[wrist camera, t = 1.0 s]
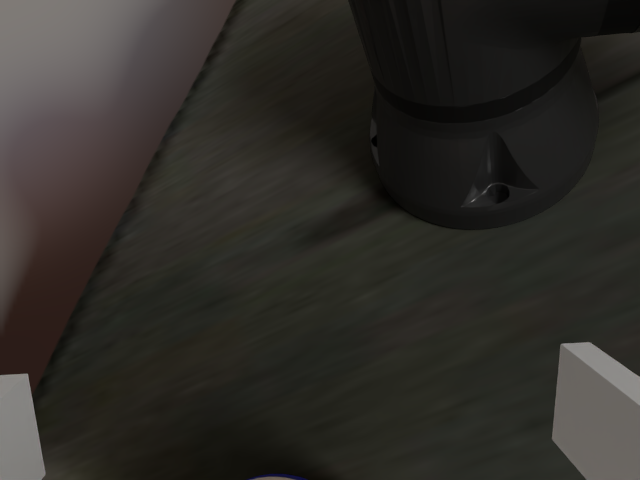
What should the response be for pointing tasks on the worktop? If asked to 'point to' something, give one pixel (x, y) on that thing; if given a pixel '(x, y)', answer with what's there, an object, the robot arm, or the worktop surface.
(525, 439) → the worktop surface
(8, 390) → the robot arm
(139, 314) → the worktop surface
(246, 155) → the worktop surface
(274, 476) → the teacup with lid
